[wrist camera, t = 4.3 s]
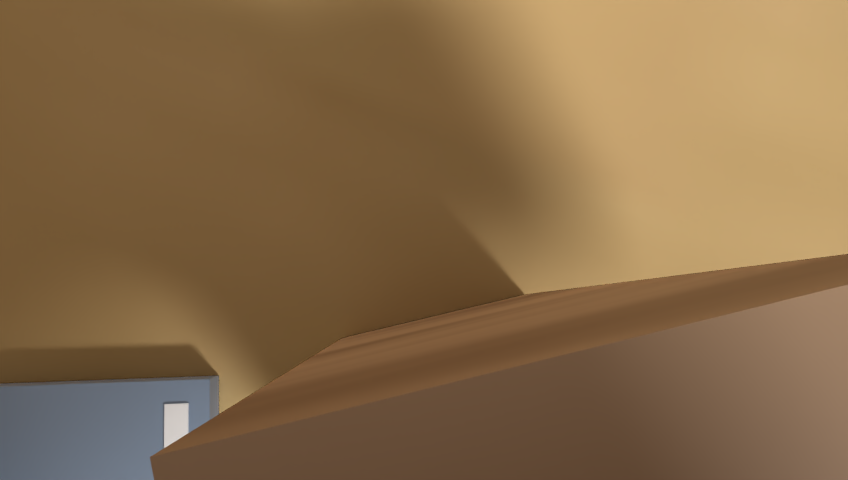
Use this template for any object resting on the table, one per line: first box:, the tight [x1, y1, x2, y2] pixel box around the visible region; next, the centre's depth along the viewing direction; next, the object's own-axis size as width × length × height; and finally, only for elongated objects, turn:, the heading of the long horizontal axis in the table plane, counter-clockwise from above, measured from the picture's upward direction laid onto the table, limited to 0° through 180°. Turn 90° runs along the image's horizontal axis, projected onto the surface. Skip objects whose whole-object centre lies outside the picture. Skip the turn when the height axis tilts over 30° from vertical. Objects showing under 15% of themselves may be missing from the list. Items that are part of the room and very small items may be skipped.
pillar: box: [150, 254, 848, 480], centre depth 9 cm, size 4×4×13 cm
